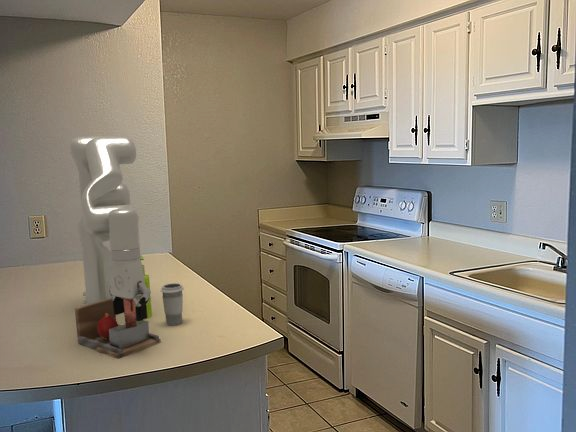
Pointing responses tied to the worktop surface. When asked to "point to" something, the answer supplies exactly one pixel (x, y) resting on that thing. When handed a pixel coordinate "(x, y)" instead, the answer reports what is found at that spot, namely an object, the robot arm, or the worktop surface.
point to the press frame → (88, 330)
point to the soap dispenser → (147, 284)
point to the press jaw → (129, 328)
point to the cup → (173, 303)
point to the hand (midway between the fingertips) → (130, 316)
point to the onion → (106, 325)
